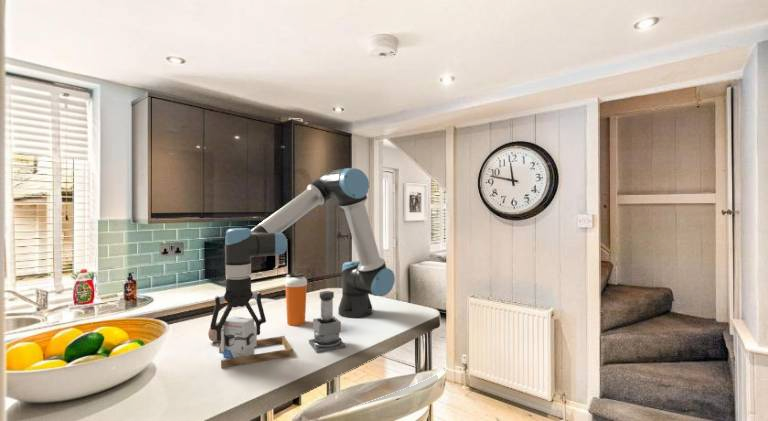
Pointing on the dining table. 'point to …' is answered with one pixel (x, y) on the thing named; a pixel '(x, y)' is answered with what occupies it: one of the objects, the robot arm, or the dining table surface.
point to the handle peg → (326, 306)
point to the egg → (213, 334)
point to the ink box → (238, 337)
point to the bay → (262, 356)
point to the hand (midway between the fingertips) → (238, 347)
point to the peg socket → (326, 336)
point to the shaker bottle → (295, 298)
